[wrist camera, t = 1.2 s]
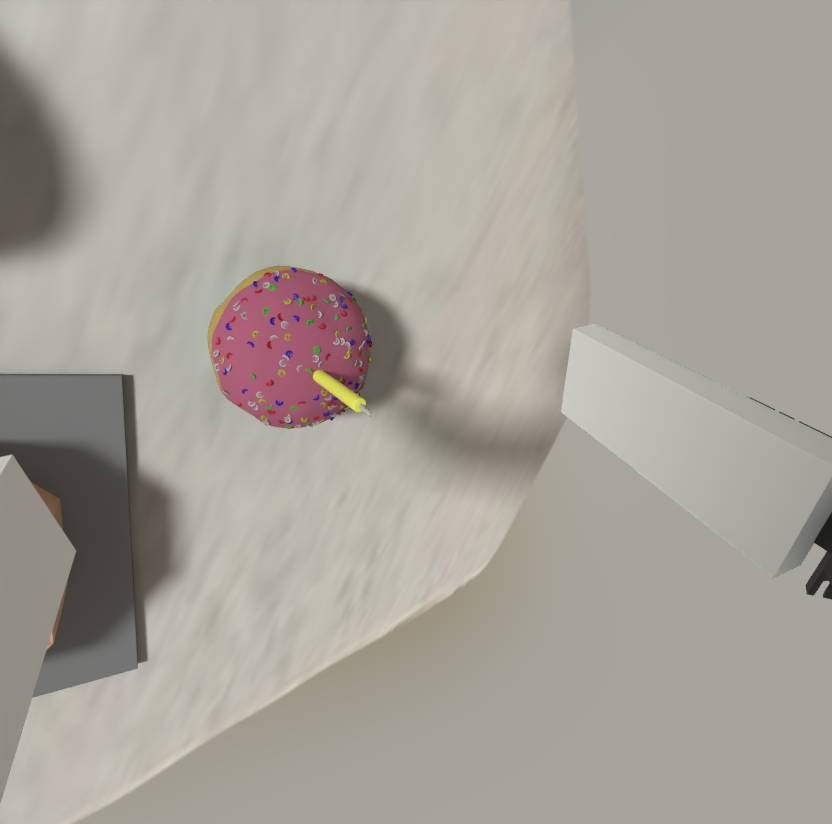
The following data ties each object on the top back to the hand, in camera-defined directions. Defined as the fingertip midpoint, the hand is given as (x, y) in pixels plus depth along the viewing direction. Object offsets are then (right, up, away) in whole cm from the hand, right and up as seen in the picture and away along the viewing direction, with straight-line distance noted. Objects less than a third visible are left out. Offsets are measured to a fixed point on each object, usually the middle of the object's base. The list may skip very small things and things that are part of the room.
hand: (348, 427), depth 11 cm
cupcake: (-7, +5, +17) cm, 19 cm away
